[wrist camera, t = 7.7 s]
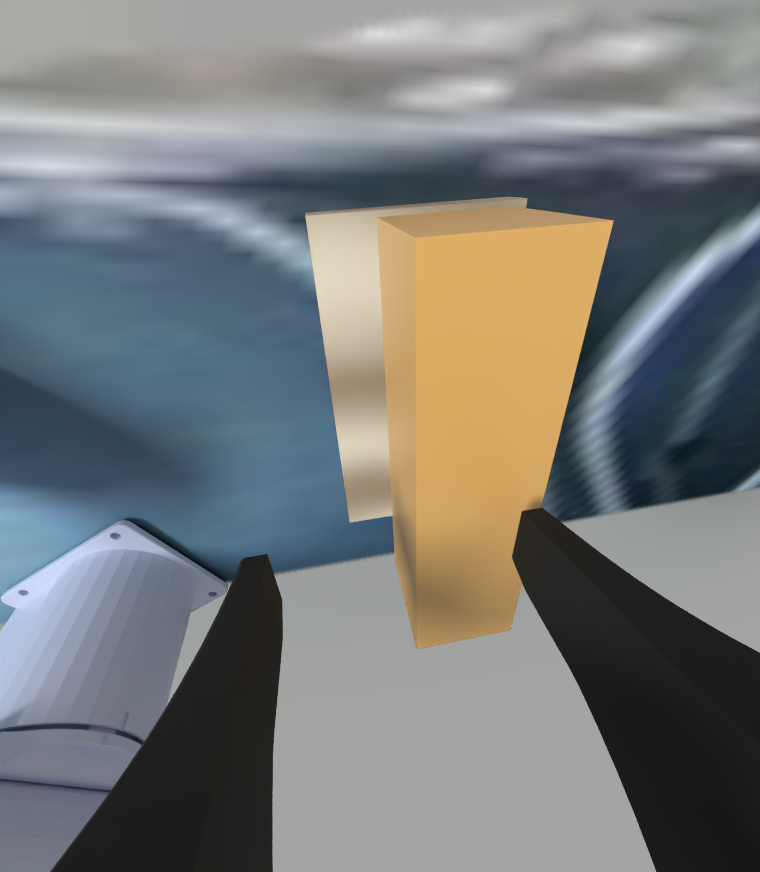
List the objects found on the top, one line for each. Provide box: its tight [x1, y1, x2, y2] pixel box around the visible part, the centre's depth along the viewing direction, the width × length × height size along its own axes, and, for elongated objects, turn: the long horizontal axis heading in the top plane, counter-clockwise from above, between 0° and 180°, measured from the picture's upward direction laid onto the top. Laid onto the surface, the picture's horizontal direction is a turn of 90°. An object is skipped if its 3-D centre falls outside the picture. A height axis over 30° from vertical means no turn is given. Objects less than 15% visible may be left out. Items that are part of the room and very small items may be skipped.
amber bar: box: [377, 206, 613, 649], centre depth 13 cm, size 15×4×4 cm, turn 4°
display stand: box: [305, 197, 527, 522], centre depth 17 cm, size 15×8×4 cm, turn 4°
